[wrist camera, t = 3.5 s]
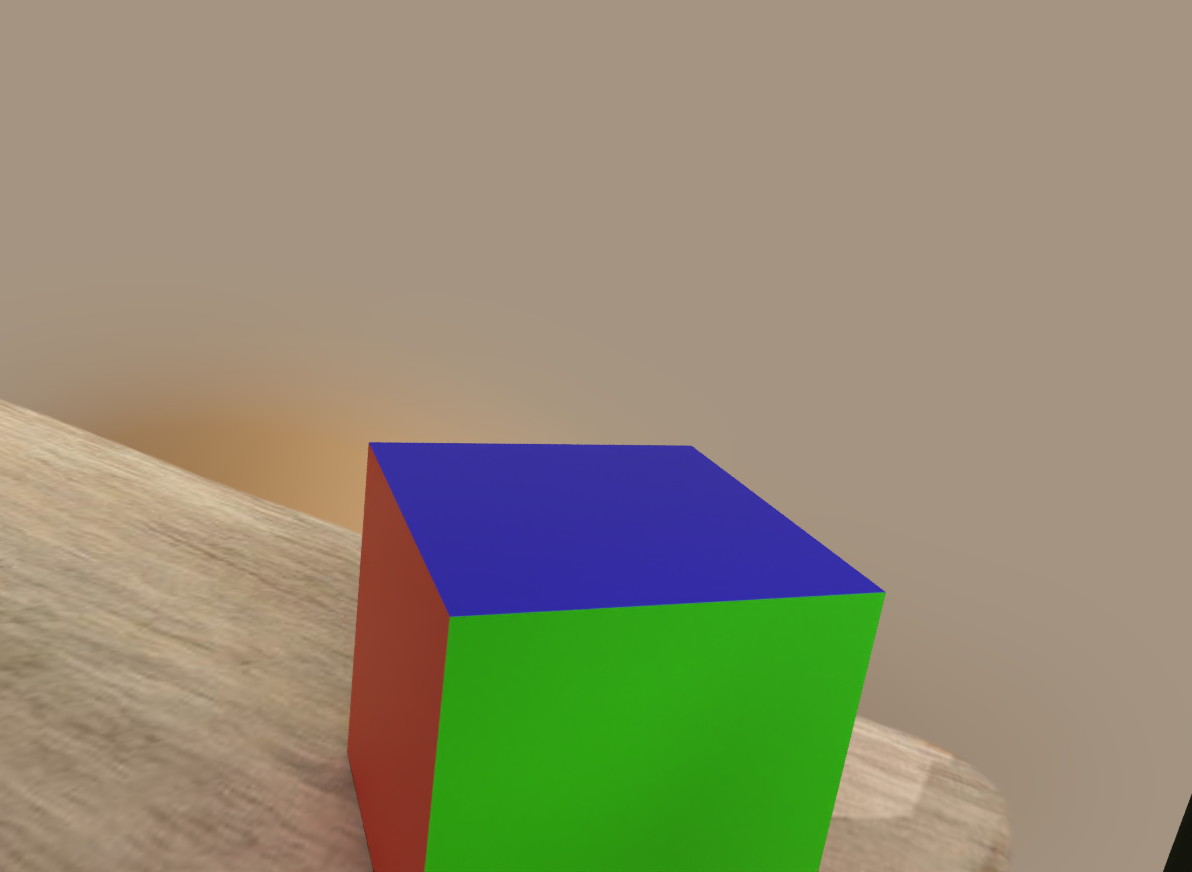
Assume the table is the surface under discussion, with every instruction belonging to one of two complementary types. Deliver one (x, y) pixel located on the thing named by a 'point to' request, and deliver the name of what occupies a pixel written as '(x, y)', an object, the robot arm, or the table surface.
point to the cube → (596, 664)
